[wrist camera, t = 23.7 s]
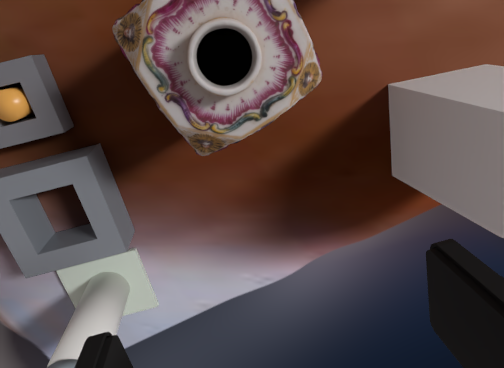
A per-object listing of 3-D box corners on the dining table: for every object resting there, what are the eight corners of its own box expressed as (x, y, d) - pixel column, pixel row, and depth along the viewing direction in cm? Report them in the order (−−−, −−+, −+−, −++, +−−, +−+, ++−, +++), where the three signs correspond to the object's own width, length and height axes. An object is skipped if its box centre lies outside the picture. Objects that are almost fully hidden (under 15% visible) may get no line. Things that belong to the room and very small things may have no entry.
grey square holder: (-1, 169, 41) (-27, 185, 36) (99, 143, 41) (86, 156, 36) (44, 254, 45) (25, 278, 40) (134, 230, 45) (126, 251, 41)
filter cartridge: (79, 277, 46) (20, 387, 31) (122, 266, 46) (82, 370, 31) (96, 310, 48) (47, 429, 33) (136, 300, 48) (105, 413, 33)
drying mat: (57, 268, 46) (55, 271, 45) (135, 247, 46) (135, 250, 46) (86, 323, 49) (84, 326, 49) (158, 303, 49) (158, 306, 49)
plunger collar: (-30, 73, 37) (-49, 75, 34) (44, 54, 37) (30, 55, 35) (5, 143, 40) (-10, 151, 37) (74, 126, 40) (64, 132, 37)
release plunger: (2, 90, 38) (-17, 94, 35) (31, 83, 38) (14, 86, 35) (16, 118, 39) (-2, 124, 36) (43, 111, 39) (29, 117, 36)
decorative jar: (201, 127, 42) (199, 181, 25) (137, 32, 38) (83, 22, 21) (291, 69, 41) (351, 86, 24) (235, -35, 37) (261, -101, 20)
